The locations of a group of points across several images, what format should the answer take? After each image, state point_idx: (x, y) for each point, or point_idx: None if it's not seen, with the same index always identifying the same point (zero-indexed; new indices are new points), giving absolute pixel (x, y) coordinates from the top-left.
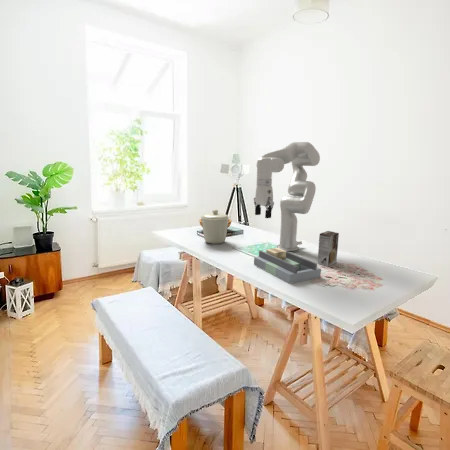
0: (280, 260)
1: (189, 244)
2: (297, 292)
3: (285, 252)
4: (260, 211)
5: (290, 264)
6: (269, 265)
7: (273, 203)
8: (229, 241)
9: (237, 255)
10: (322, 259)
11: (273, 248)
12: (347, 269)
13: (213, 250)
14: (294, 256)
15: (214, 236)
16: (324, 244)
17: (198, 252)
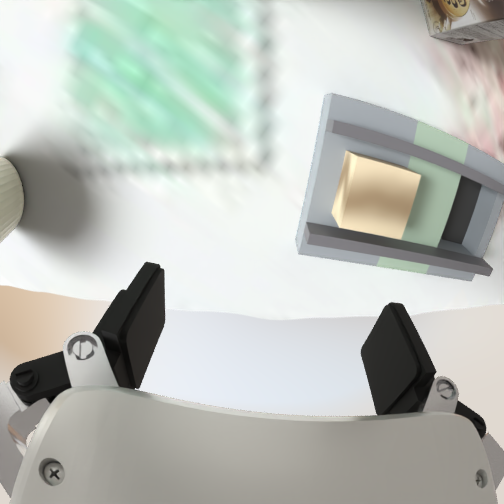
0: (441, 266)
1: (21, 272)
2: (482, 288)
3: (417, 178)
4: (149, 296)
5: (475, 270)
6: (395, 267)
7: (499, 459)
8: (11, 138)
9: (161, 216)
10: (457, 37)
11: (351, 184)
12: (498, 41)
13: (80, 252)
14: (449, 169)
15: (9, 224)
16: (500, 31)
17: (90, 299)
